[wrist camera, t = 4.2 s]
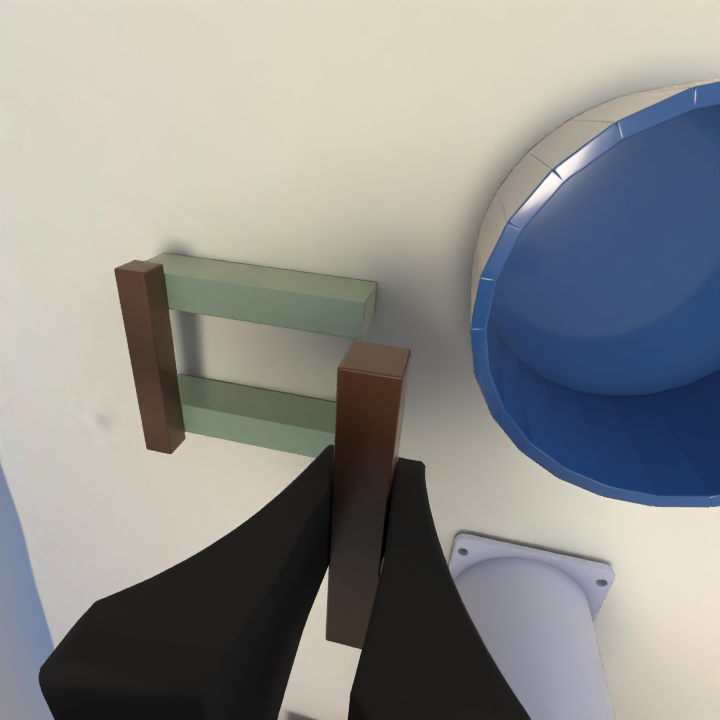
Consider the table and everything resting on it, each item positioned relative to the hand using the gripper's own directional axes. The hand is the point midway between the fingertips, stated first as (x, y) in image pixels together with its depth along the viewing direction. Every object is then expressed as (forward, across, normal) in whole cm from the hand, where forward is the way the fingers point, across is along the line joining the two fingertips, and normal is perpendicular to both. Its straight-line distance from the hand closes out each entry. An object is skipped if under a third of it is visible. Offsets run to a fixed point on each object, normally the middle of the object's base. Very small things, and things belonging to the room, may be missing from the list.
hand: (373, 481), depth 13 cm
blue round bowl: (+9, -8, -4) cm, 13 cm away
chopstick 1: (+7, +11, +2) cm, 13 cm away
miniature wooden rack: (+9, +7, +2) cm, 12 cm away
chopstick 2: (-1, 0, 0) cm, 1 cm away
